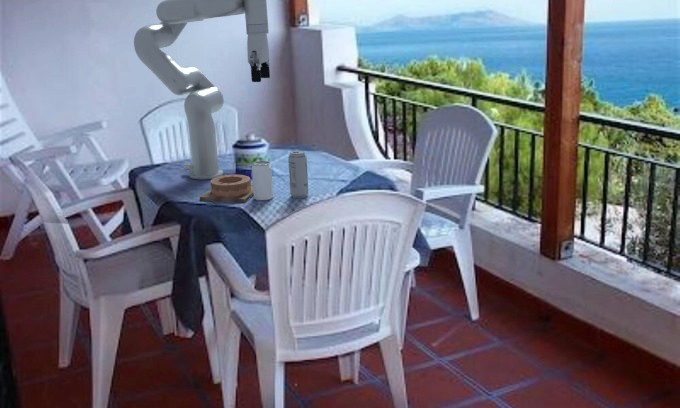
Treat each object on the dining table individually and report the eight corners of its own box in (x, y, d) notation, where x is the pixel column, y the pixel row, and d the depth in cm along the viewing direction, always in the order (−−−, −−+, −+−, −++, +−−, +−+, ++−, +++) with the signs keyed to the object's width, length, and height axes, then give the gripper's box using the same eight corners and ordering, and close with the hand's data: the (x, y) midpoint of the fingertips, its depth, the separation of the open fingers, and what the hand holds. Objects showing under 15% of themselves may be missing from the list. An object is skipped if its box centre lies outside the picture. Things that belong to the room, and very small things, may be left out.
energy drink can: (309, 197, 242) (307, 153, 237) (291, 199, 241) (289, 154, 236) (306, 192, 247) (304, 149, 243) (289, 194, 246) (286, 150, 242)
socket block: (199, 200, 243) (198, 185, 241) (219, 187, 258) (217, 172, 256) (245, 202, 239) (244, 187, 237) (261, 188, 254) (261, 174, 252)
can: (253, 195, 246) (251, 161, 242) (273, 194, 246) (271, 160, 243) (253, 201, 240) (251, 166, 236) (273, 200, 240) (271, 165, 237)
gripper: (255, 27, 259) (258, 76, 264) (238, 31, 243) (242, 83, 248) (275, 27, 257) (278, 76, 262) (259, 31, 241) (263, 83, 246)
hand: (261, 79), depth 255 cm, fingers open, 9 cm apart
